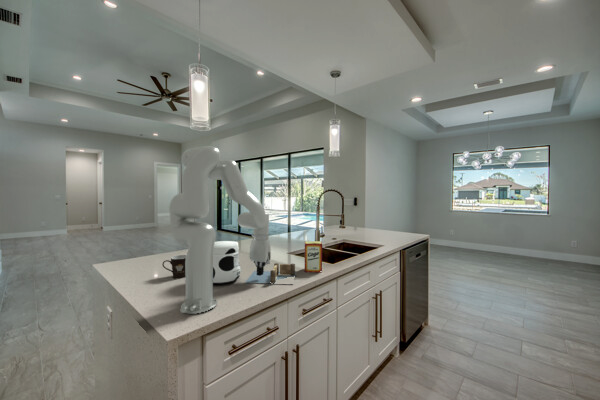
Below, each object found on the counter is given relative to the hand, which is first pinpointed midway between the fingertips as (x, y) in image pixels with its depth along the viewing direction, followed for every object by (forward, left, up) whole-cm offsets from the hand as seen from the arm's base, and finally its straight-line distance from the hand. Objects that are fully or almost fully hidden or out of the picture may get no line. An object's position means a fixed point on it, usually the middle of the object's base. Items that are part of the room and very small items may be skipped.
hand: (260, 274), depth 121 cm
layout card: (+5, -5, -3) cm, 7 cm away
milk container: (-1, +18, -3) cm, 19 cm away
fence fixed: (+9, -11, -3) cm, 14 cm away
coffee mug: (+3, +43, -3) cm, 44 cm away
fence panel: (+1, -7, -2) cm, 7 cm away
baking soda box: (+19, -26, -3) cm, 32 cm away
